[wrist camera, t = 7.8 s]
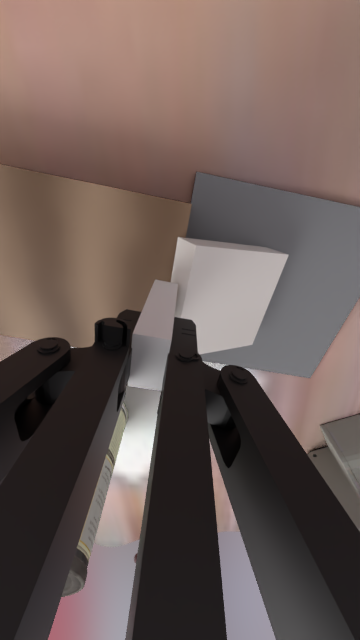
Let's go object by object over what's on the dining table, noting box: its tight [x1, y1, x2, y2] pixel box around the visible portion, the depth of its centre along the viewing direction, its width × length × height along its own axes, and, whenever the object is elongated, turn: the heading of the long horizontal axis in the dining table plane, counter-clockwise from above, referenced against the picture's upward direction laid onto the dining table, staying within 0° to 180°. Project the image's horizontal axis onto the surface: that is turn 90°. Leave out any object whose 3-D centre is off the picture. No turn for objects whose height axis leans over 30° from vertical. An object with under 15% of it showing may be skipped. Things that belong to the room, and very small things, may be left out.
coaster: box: [171, 237, 289, 354], centre depth 17 cm, size 8×8×2 cm
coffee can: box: [0, 402, 128, 597], centre depth 22 cm, size 10×10×14 cm
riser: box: [0, 164, 192, 348], centre depth 17 cm, size 18×12×4 cm, turn 80°
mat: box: [186, 172, 360, 378], centre depth 20 cm, size 16×16×1 cm
